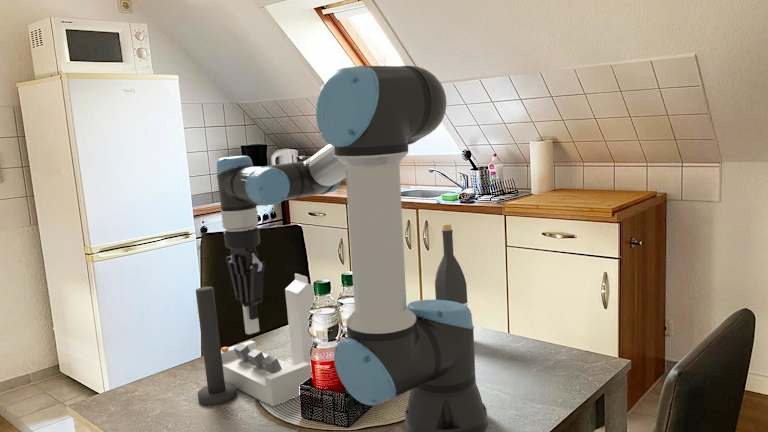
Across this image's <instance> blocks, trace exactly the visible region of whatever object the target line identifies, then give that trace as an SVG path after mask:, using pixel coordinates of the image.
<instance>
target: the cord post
mask: <svg viewBox="0 0 768 432" xmlns="http://www.w3.org/2000/svg"><path fill="white" fill-rule="evenodd" d="M195 296H196V297H195V298H196V306H197V313H198V320H199V329H200V335H201V336H200V337H201V344H202V352H203V358H204V359H203V361H204V368H205V369H204V370H205V376H206V386H204V387H202V388H200V390H198V392H197V398H198V403H199V404H201V405H202V406H208V407H209V406H212V407H213V406H218V405H222V404H226V403H229V402H230V401H232V400H234V399H235V398H236V397H237V394H238V393H237V388H236V386H235V385H234V384H232V383H226V382H225V381H224V372H223V364H222V356H221V348H222V347H221V340H220V333H219V325H218V316H217V315H218V314H217V308H216V300H215V290H214V287H213V286H203V287H199V288H196V289H195Z"/></svg>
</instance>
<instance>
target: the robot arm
mask: <svg viewBox="0 0 768 432" xmlns="http://www.w3.org/2000/svg"><path fill="white" fill-rule="evenodd" d="M316 100H317V101H316V107H315V118H316V125H317V128H318V130H319V132H321V137H322V139H323V140H324V141H325V142H326V143H327V145H326V146H325V147H323V148H321V149H320V150H319V151H318V152H315V154H314V155H312V156H310V157H309V158H307V159H306V160H302V161H296V162H294V161H293V162H287V163H281V164H280V163H279V164H272V165H271V164H270V165H265V166H254V163H253V160H252V158H251V157H250V156H248V155H235V156H226V157H220V158H219V159H218V160H216V179H217V185H218V193H219V195H218V196H219V200H220V201H219V202H220V213H221V222H222V228H223V229H225V230H224V232H223V238H224V239H223V240H224V246H225V248H227V249H230V256H226V257H225V262H226V264H227V267H228V271H229V274H230V280H231V284H232V288H233V292H234V296H235V300H236V301H239V303H240V304H241V306H242V314H243V322H244V323H243V324H244V330H245V334H246V335H252V334H255V333H258V332H260V323H259V311H258V304H259V303H262V302H263V300H264V298H263V297H264V295H263V294H264V275H265V274H264V273H265V272H264V271H265V268H266V262H265V260H264V261H260V259H259V258H258V257H259V254H258V252H257V249H256V248H257V246H259V244H260V243H261V235H260V228H259V227H258V225H259V218H258V213H259V212H258V209H257V207H258V206H257V205H260V206H261V205H262V206H276V205H279V204H281V203H282V202H283V201H287V200H294V199H299V198H305V197H310V196H312V197H313V196H317V195H318V196H319V195H321V196H323V195H326V194H328V193H332V192H336V191H337V190H338V189H339V187H340V185H341V183H342V181H343V180H344V179H345V184H346V197H347V198H346V199H347V210H348V211H347V215H348V226H349V227H348V228H349V230H348V231H349V245H350V257H351V258H350V259H351V270H352V271H351V273H352V274H351V275H352V289H353V290H352V291H353V301H354V302H353V304H354V311H352V313H351V314H350V315H349V316H348V317H347V319H346V337H344V338H342V339H341V340H340V341H338V343H337V344H336V346H335V348H334V351H333V363H334V367H335V370H336V372H337V375H338V378H339V380H340V382H341V384H342V385H343V386H344V388H345V389H346V391H347V392H348V393H349V394H350V395H351V396H352V397H353V399H355V400H356V401H357V402H359V403H362V404H364V405H367V406H375V405H379V404H382V403H384V402H390V401H392V400H394V399H395V398H396V397H398V396H401V395H403V394H405V393H407V392H410V394H409V395H408V396H409V397H408V401H407V407H406V408H405V410H404V411H405V412H404V413H405V414H404V421H405V422H404V424H405V429H406V430H407V432H485V431H486V430H487V428H488V412H487V407H486V405H485V404H484V403H483V401H482V396H481V393H480V390H479V387H478V385H477V379H476V360H475V359H476V358H475V337H474V329H475V325H474V324H473V323H474V322H473V317H472V312H471V309H470V308H469V306H468V307H467V306H465V305H463V304H461V303H458V302H453V301H447V300H436V299H420V300H414V301H412V302H409V303H408V304H407V289H406V286H407V285H406V272H405V271H406V270H405V269H406V268H405V266H406V265H405V249H404V247H405V246H404V230H403V229H404V228H403V208H402V189H401V171H400V168H401V167H400V165H401V164H400V163H401V162H402V160H404V158H405V157H406V156H407V155H408V154H409V145H412V144H415V143H416V142H418V141H419V140H421V139H423V138H425V137H426V136H428V135H430V134H431V133H433V131H435V130H437V129H438V127H439V125H441V124H442V121H443V120H444V116H445V114H446V110H447V96H446V92H445V89H444V87H443V85H442V83H441V81H440V80H439V79H438V78H437V77H436V76H435V75H434V74H433V73H432V72H430V71H429V70H427V69H425V68H423V67H419V66H417V65H416V66H415V65H399V66H397V65H396V66H395V65H393V66H391V65H359V66H350V67H343V68H340V69H337V70H335V71H334V72H333V73H331V74H330V75H329V76H328V77H327V78H326V79H325V81H324V84H323V85H322V86H321V87H320V91H319V93H318V97H317V99H316Z"/></svg>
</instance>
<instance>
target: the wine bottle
mask: <svg viewBox="0 0 768 432" xmlns="http://www.w3.org/2000/svg"><path fill="white" fill-rule="evenodd" d="M441 233H442V245H443V248H442V249H443V255H442V258H441V261H440V263H439V265H438V267H437V270H436V274H435V279H434V292H435V294H434V295H435V300H447V301H453V302H458V303H461V304H463V305H465V306H467V307H468V308H469V306H468V289H467V286H468V285H467V281H466V278H465V275H464V273H463V269H462V267H461V265H460V263H459V262H458V260H457V258H456V256H455V255H454V239H453V238H454V237H453V229H452V224H451V223H443V224H442V230H441Z"/></svg>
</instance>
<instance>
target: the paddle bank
mask: <svg viewBox="0 0 768 432" xmlns="http://www.w3.org/2000/svg"><path fill="white" fill-rule="evenodd" d="M242 343H243V342H242ZM242 343H241V342H240V343H238V344H236V345H237V346H236V347H235V348H234V350H235V352H236V354H237V356H238V358H239V359H241V360H243V361H245V362H246V361H249V362H251V363H252V365H254V366H256V367H258V368H261V367H262V368H265V369H266V370H267V372H269V373H272V374H274V373H277V372H279V371H280V370H282V368H281V366H280V364H279V362H278V360H277V359H278V357H275V356H272V355H270V354H267V355H268V356H267V357H266V358H264V356H263V354H262V353H263V352H262V351H261V350H258V349H257V348H256V349H253V350H252V351H251V352H250V350H249V348H248V346H246V345H244V344H242Z"/></svg>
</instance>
